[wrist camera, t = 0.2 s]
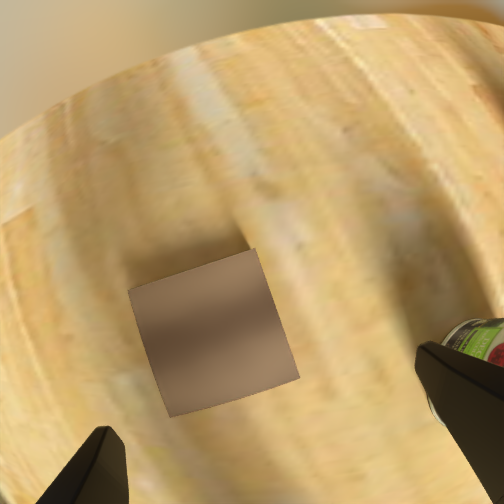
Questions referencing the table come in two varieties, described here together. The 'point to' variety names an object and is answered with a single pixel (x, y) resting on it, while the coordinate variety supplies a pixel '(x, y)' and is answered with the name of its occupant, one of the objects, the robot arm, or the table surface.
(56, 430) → the table surface
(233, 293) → the walnut block
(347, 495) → the table surface
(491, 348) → the coffee can
